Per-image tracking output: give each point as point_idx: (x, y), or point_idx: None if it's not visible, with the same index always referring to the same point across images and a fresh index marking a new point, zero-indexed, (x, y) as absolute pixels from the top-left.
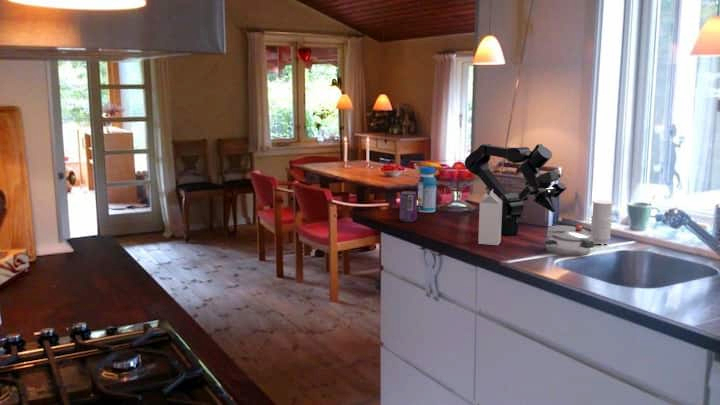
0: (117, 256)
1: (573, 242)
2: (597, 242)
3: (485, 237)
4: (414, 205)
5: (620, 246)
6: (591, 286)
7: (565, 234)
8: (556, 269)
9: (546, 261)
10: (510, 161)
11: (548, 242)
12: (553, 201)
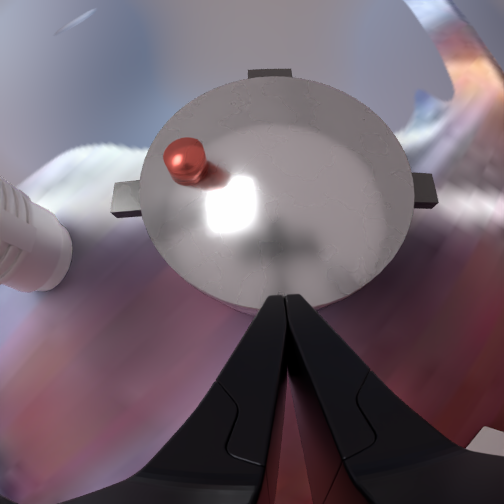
0: None
1: None
2: (64, 240)
3: None
4: None
5: (40, 183)
6: (438, 11)
7: (348, 135)
8: (462, 88)
9: (456, 148)
10: None
11: (431, 183)
12: (230, 386)
